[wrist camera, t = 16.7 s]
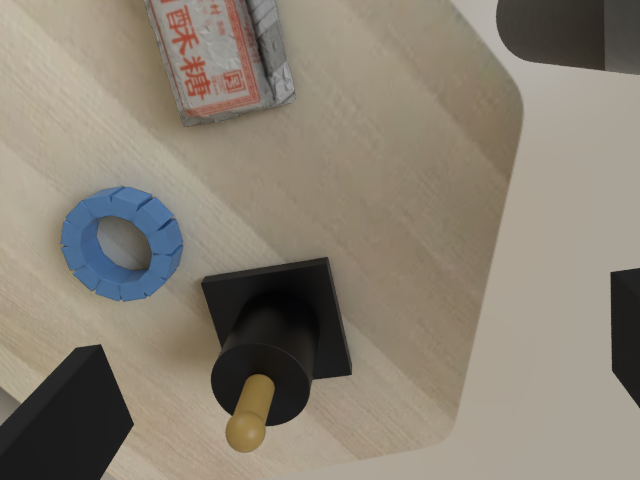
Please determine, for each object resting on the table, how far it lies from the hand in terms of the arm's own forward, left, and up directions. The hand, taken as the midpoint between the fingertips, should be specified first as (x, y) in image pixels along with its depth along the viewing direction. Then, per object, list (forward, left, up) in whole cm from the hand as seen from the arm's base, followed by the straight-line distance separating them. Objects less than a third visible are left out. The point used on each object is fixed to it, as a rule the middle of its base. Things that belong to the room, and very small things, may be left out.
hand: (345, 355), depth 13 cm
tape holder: (+11, +16, -32) cm, 37 cm away
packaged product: (+10, -13, -32) cm, 36 cm away
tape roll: (+23, +5, -32) cm, 39 cm away
